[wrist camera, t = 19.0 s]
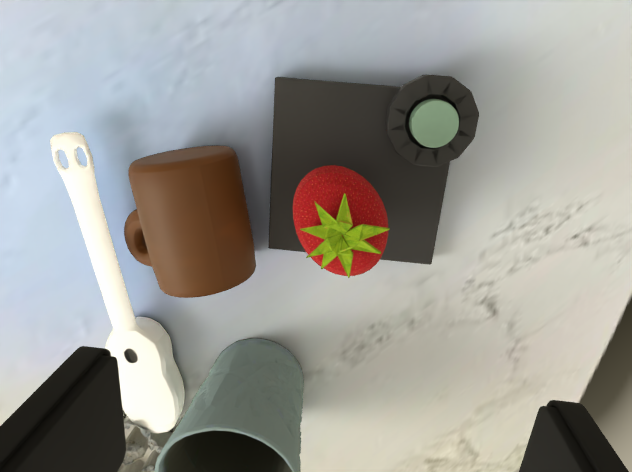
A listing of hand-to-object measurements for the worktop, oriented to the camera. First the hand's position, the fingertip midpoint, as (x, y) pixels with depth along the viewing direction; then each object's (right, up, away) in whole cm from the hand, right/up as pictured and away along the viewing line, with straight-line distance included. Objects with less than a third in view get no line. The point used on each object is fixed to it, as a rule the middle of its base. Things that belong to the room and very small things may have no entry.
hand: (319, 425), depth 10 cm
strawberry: (+2, +7, +24) cm, 25 cm away
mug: (-11, +10, +22) cm, 27 cm away
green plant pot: (-5, -9, +32) cm, 34 cm away
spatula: (-16, 0, +30) cm, 34 cm away
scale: (+3, +9, +25) cm, 26 cm away
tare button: (+8, +12, +20) cm, 25 cm away
